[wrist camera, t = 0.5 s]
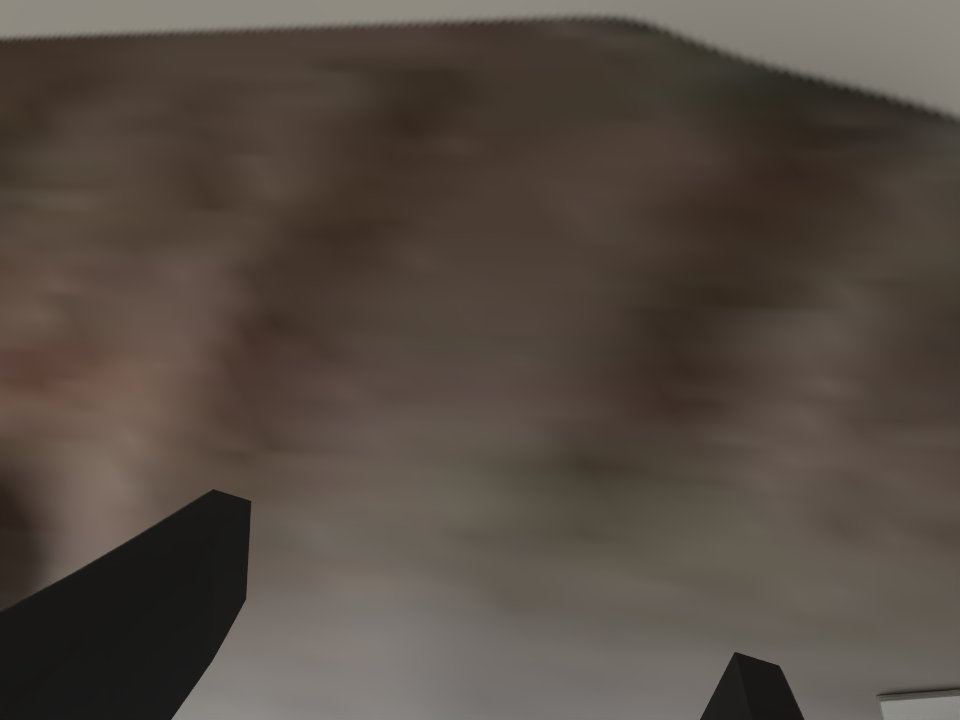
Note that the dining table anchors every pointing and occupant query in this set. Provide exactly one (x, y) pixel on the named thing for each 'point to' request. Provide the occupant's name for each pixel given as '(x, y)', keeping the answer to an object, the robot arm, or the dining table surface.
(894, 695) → the stand base
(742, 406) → the dining table surface
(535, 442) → the dining table surface
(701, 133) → the dining table surface
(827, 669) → the dining table surface
